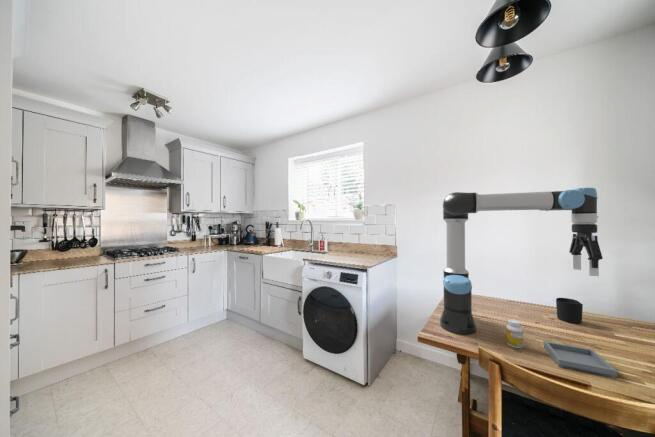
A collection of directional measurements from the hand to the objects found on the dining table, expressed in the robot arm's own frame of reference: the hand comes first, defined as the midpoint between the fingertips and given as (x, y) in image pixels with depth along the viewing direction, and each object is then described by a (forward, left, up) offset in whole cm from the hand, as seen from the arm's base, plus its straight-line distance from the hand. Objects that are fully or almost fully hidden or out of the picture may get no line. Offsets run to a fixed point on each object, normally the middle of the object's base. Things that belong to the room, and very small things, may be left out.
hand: (584, 272), depth 102 cm
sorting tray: (-12, -25, -28) cm, 40 cm away
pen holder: (+2, +20, -28) cm, 34 cm away
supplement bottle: (-29, -21, -28) cm, 46 cm away
